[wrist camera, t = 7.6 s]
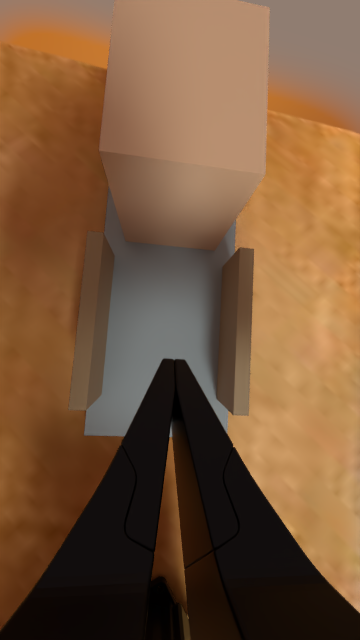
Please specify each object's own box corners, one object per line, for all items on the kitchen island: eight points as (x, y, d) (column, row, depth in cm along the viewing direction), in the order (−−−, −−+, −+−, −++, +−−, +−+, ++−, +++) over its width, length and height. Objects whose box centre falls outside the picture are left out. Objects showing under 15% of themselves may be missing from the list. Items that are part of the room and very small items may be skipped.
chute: (222, 432, 19) (247, 465, 14) (88, 429, 18) (62, 464, 13) (234, 150, 22) (259, 91, 17) (117, 132, 21) (105, 63, 16)
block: (214, 250, 19) (265, 174, 11) (125, 241, 19) (98, 150, 10) (219, 153, 20) (269, 7, 11) (134, 140, 20) (117, -27, 11)
